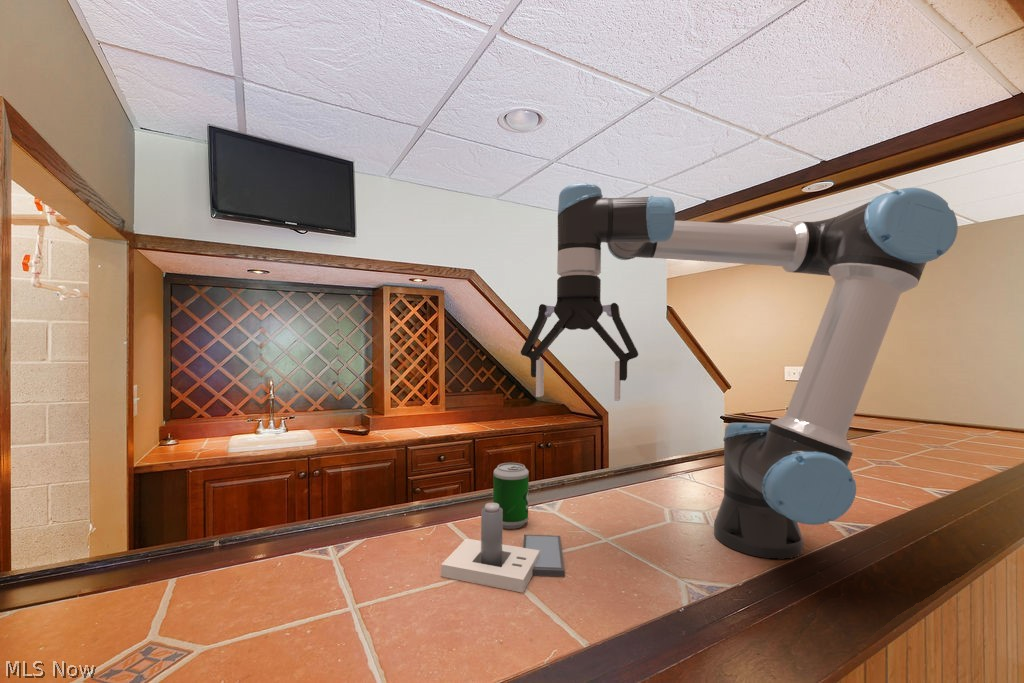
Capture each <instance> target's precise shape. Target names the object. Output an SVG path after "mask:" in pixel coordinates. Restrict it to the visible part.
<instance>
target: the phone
mask: <svg viewBox="0 0 1024 683" xmlns="http://www.w3.org/2000/svg"><path fill="white" fill-rule="evenodd" d="M522 546H523V547H522V548H528V549H534V550H540V556H539V558H538V560H537V561H536V563H535V565H534V568H533V569H532V577H533V576H537V577H539V576H540V577H558V578H559V577H560V578H562V577H563V578H565V564H564V563H565V562H564V555H563V548H562V540H561V535H552V534H551V535H550V534H549V535H546V534H523V544H522Z"/></svg>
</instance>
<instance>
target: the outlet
mask: <svg viewBox="0 0 1024 683" xmlns="http://www.w3.org/2000/svg"><path fill="white" fill-rule="evenodd" d="M539 556H540V550H534V549H528V548H523V547H521V546H515V545H509V544H503V543H502V567H497V566H492V565H486V564H481V540H478V539H473V538H465V539H464V540H463V541H462V542H461V543H460V544H459V546H457V547H456V548H455V549H454V550H453V551H452V553H450V555H449V556H448V557H447V558H446V559H445V560H444V561H443V562H442V563H441V564H440V577H441V578H447V579H451V580H456V581H462V582H466V583H471V584H476V585H482V586H487V587H493V588H497V589H502V590H507V591H513V592H517V593H522V594H523V593H524V592H525V590H526V588H527V586H528V585H529V583H530V581H531V579H532V577H533V576H532V569H533V568H534V565H535V563H536V561H537V560H538V558H539Z"/></svg>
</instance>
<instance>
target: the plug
mask: <svg viewBox="0 0 1024 683" xmlns="http://www.w3.org/2000/svg"><path fill="white" fill-rule="evenodd" d="M480 511H481V512H480V514H481V515H480V516H481V519H480V522H481V524H480V541H481V564H486V565H492V566H497V567H502V566H503V563H502V544H503V529H504V528H503V509H502V508H501V507H499V504H498V503H493V502H487V503H485V505H484V507H482V508H481V510H480Z"/></svg>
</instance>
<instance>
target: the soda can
mask: <svg viewBox="0 0 1024 683" xmlns="http://www.w3.org/2000/svg"><path fill="white" fill-rule="evenodd" d="M492 472H493V476H492V477H493V478H492V479H493V482H492V483H493V488H492V489H493V490H492V491H493V493H492V497H493V498H492V500H493V501H492V503H498V504H499V507H501V508H502V509H503V529H509V530H513V529H519V528H521V527H522V528H523V526H524V525H525V524H526V523H527V522H528V520H529V483H530V482H529V481H530V480H529V479H530V478H529V475H530V474H529V472H530V471H529V470H528V468H526V466H525V464H523V463H517V462H504V463H500V464H498V465H497V467H496V468H495V469H493V471H492Z"/></svg>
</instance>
